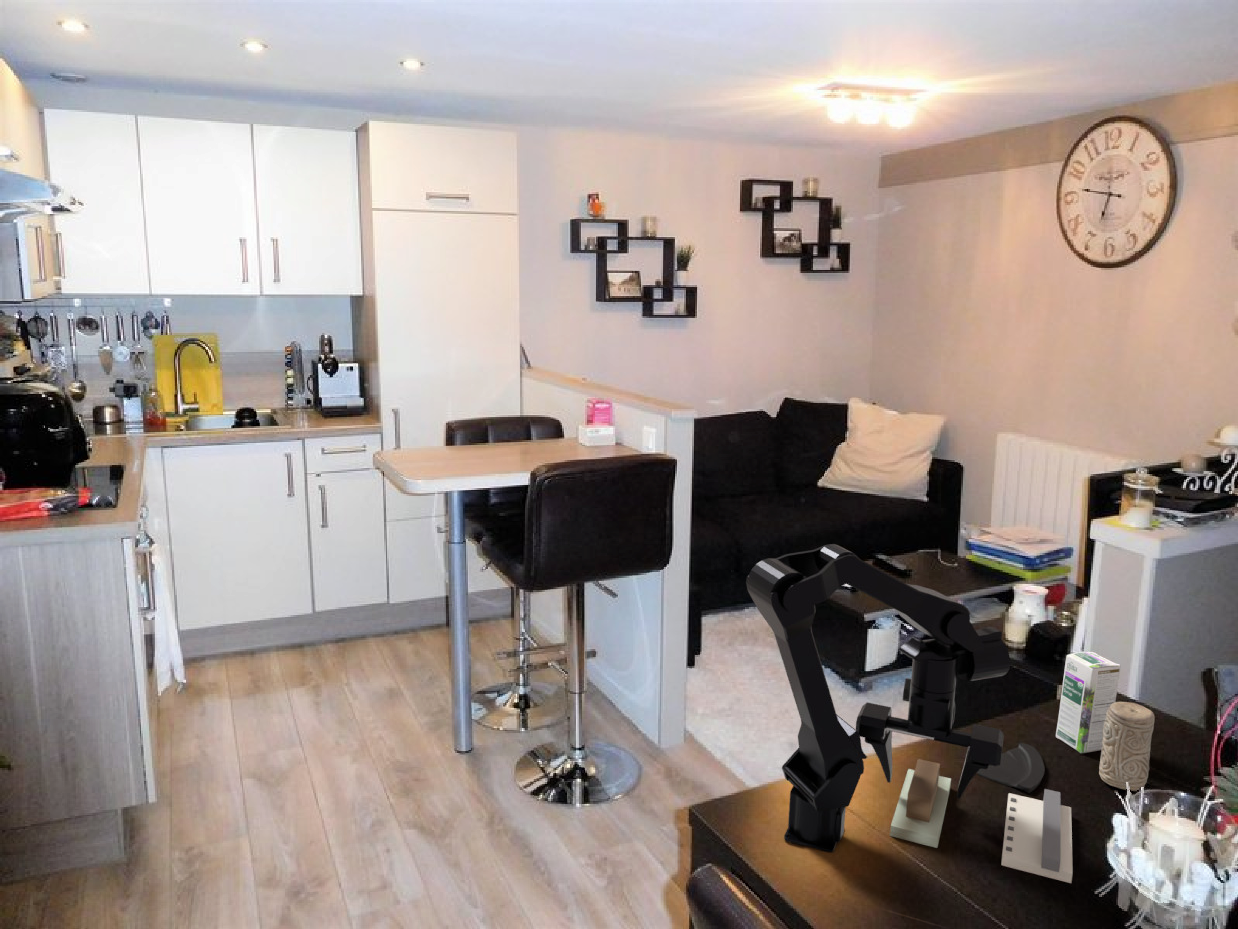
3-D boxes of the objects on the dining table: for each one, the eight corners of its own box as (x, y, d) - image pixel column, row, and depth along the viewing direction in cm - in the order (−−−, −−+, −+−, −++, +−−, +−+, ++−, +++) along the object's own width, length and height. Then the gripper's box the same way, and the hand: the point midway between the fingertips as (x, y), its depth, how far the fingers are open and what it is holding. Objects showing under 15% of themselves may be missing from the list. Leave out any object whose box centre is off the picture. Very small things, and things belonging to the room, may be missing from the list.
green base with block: (889, 836, 122) (892, 801, 121) (907, 778, 136) (910, 747, 135) (937, 848, 120) (940, 813, 119) (950, 788, 134) (953, 756, 133)
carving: (1150, 781, 137) (1161, 706, 135) (1140, 802, 131) (1151, 725, 129) (1103, 766, 141) (1113, 693, 138) (1091, 787, 135) (1101, 711, 133)
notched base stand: (1000, 868, 116) (1003, 846, 115) (1007, 801, 131) (1009, 781, 131) (1071, 886, 113) (1074, 864, 112) (1069, 815, 128) (1072, 795, 127)
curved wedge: (1062, 764, 142) (1063, 755, 142) (1030, 800, 132) (1031, 789, 132) (1007, 745, 148) (1008, 736, 147) (973, 778, 138) (974, 768, 138)
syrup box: (1054, 737, 150) (1064, 653, 147) (1083, 732, 151) (1093, 649, 148) (1080, 754, 144) (1091, 668, 141) (1110, 749, 146) (1122, 664, 143)
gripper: (1010, 675, 128) (999, 777, 131) (873, 650, 135) (865, 747, 138) (1006, 708, 118) (994, 818, 121) (858, 679, 125) (851, 783, 129)
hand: (923, 789), depth 127 cm, fingers open, 9 cm apart
